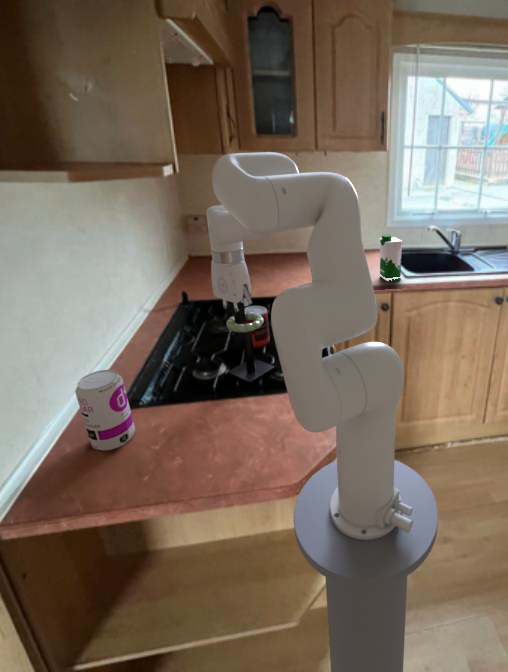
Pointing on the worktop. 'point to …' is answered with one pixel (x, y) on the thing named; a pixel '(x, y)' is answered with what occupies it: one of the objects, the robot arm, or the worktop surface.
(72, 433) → the worktop surface
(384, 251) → the milk carton
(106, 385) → the supplement can
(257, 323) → the ring
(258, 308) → the canned food
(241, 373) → the stand
